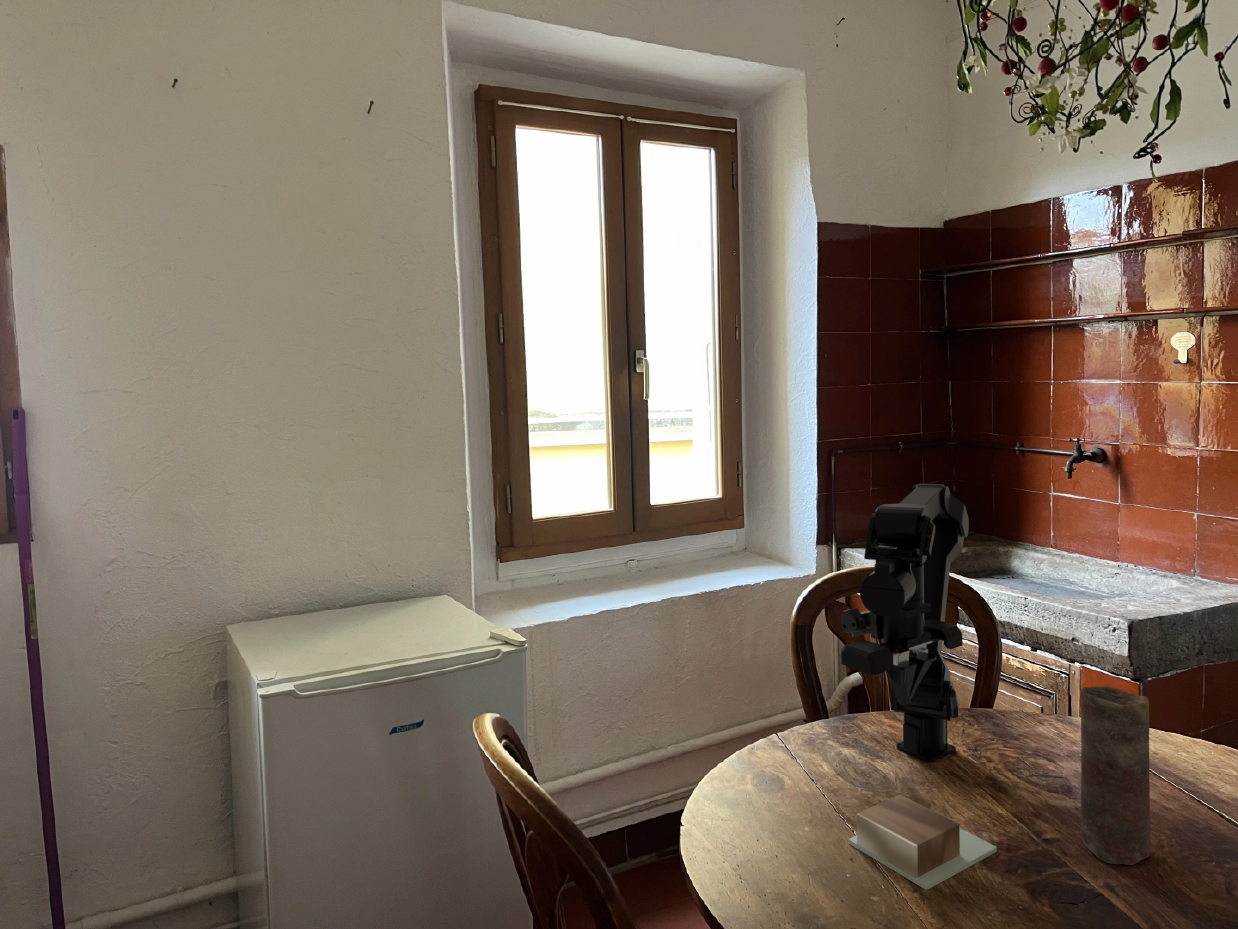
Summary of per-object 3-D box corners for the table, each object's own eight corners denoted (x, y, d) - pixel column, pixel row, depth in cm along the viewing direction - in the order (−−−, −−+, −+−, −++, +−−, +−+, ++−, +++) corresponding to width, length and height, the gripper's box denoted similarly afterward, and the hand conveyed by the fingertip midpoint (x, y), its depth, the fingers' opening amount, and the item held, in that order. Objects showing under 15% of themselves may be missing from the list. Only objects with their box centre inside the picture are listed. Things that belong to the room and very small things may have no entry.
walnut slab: (899, 794, 112) (856, 814, 108) (959, 824, 104) (915, 846, 100) (900, 823, 112) (857, 844, 108) (959, 855, 104) (915, 878, 100)
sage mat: (916, 811, 116) (916, 806, 116) (996, 851, 106) (996, 847, 106) (848, 843, 109) (848, 839, 109) (926, 890, 99) (926, 885, 99)
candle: (1067, 835, 109) (1068, 683, 106) (1123, 830, 109) (1125, 678, 106) (1104, 870, 101) (1107, 707, 99) (1164, 865, 101) (1168, 702, 99)
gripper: (901, 573, 130) (902, 672, 132) (810, 596, 121) (813, 703, 122) (964, 588, 121) (965, 694, 123) (872, 614, 111) (874, 729, 113)
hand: (903, 704), depth 120 cm, fingers closed
